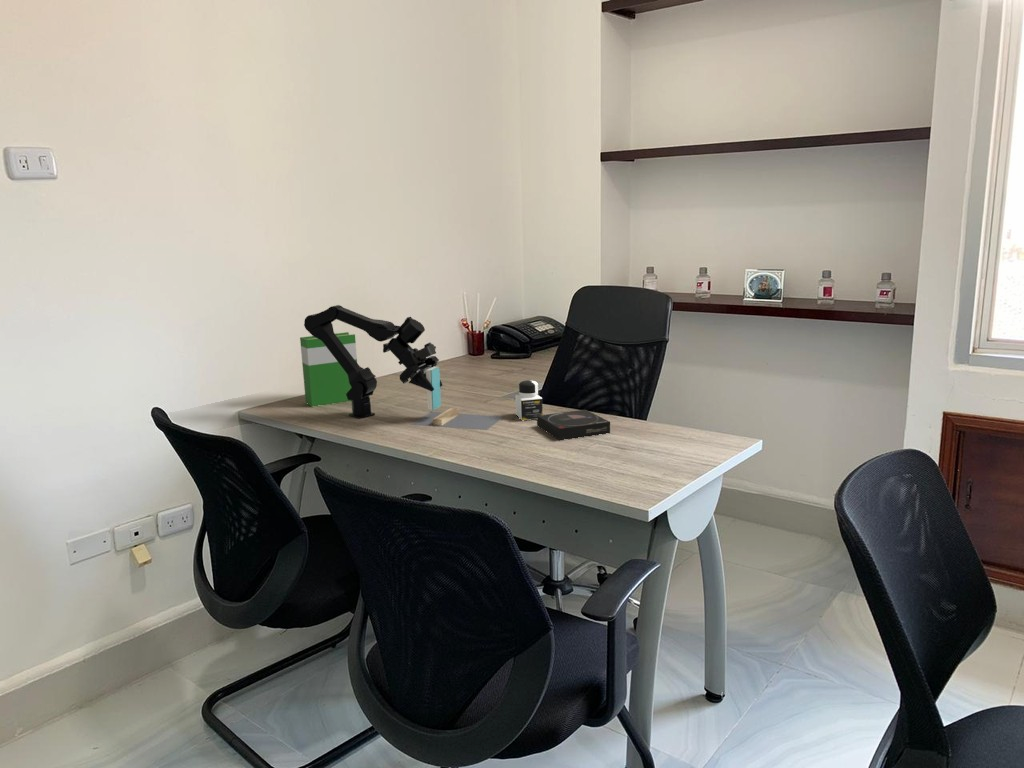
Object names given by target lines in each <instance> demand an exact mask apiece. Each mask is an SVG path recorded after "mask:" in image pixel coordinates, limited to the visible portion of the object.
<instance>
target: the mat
mask: <svg viewBox="0 0 1024 768" xmlns="http://www.w3.org/2000/svg"><path fill="white" fill-rule="evenodd" d="M442 413H443V412H440V411H439V412H438V411H430V412H429V413H427V414H425V415H424V416H422V417H420V418H418V419H417V420H415V421H414V422H411V423H410V425H411V426H412V425H413V426H423V427H424V426H425V427H439V428H453V429H468V430H482V431H487V430H489V429H490V428H492V427H493V426H494V425H495V424H497V423H498V422H499V421H501V420H502V419H503V418H505V416H503V415H502V416H501V415H487V414H471V413H459V415H458V416H456V417H455V418H453V419H451V420H450V421H448V422H447V423H445V424H444V425H442V426H438V425H433V419H434V418H435V417H437V416H438V415H440V414H442Z"/></svg>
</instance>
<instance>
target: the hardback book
mask: <svg viewBox="0 0 1024 768" xmlns="http://www.w3.org/2000/svg"><path fill="white" fill-rule="evenodd" d="M335 335H336V336H337V337H338V339H339V340H340V341H341V343H342V344H343V345H344V347H345V348H346V349H347V350H348V352H349V353H350V354H351V356H352V357H353V358H354V360H355V361H356V362H357V363H358V357H357V356H358V355H357V343H356V334H354V333H353V334H350V333H349V332H348V331H346V332H339V333H338V332H337V333H335ZM299 341H300V342H299V343H300V350H301V351H300V352H301V364H302V375H303V385H304V398H305V399H304V400H305V404H306V403H308V404H309V405H311V406H318V405H324V406H326V405H325V404H330V405H333V404H332V403H336V404H340V403H339V402H343V403H346V402H345V401H349V402H352V401H351V400H348V398H347V396H346V393H347V392H348V391H349V390H350V389H351V388H352V387H351V385H350V384H349V379H348V375H347V373H346V372H345V371H344V369H343V368H342V367H341V365H340V364H339V363H338V361H337V360H336V359H335V358H334V356H333V355H332V354H331V352H330V351H329V350H328V348H327V347H326V346H325V344H324V343H323V342H322V341H321V340H319V339H318V338H316V337H314V336H313V335H309V336H302V337H299ZM308 404H307V405H308ZM309 405H308V406H309ZM311 406H310V407H311ZM318 407H319V406H318Z"/></svg>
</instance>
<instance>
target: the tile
mask: <svg viewBox="0 0 1024 768" xmlns="http://www.w3.org/2000/svg"><path fill="white" fill-rule="evenodd" d="M426 378H427V380H428V381H429V382H430V384H431V385H432V386H433V388H434V390H433V391H429V390H427V389H426V403H427V411H435V410H436V409H439V408H440V407H441V406H442V395H441V387H440V380H441V373H440V366H436V367H431V368H429V369H427V370H426Z"/></svg>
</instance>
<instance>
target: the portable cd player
mask: <svg viewBox="0 0 1024 768" xmlns="http://www.w3.org/2000/svg"><path fill="white" fill-rule="evenodd" d="M536 426H537V427H538V426H539V427H540V428H539V427H538V428H539V429H541V428H542V429H543V430H542V429H541V430H542V431H544V430H545V431H544V432H546V431H547V432H548V433H547V432H546V433H547V434H549V433H550V434H551V435H550V434H549V435H550V436H552V435H553V436H552V437H554V438H555V437H556V438H555V439H557V440H558V439H559V440H558V441H560V440H561V441H565V440H564V439H568V440H573V439H572V438H575V439H579V438H578V437H582V438H585V437H584V436H589V437H593V436H592V435H595V436H600V435H599V434H602V435H607V434H606V433H609V434H611V421H609V420H607V419H605V418H603V417H601V416H600V415H597V414H595V413H593V412H591V411H589V410H587V409H580V410H573V411H563V412H562V411H561V412H556V413H548V414H543V415H539V416H538V417H537V420H536Z"/></svg>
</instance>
